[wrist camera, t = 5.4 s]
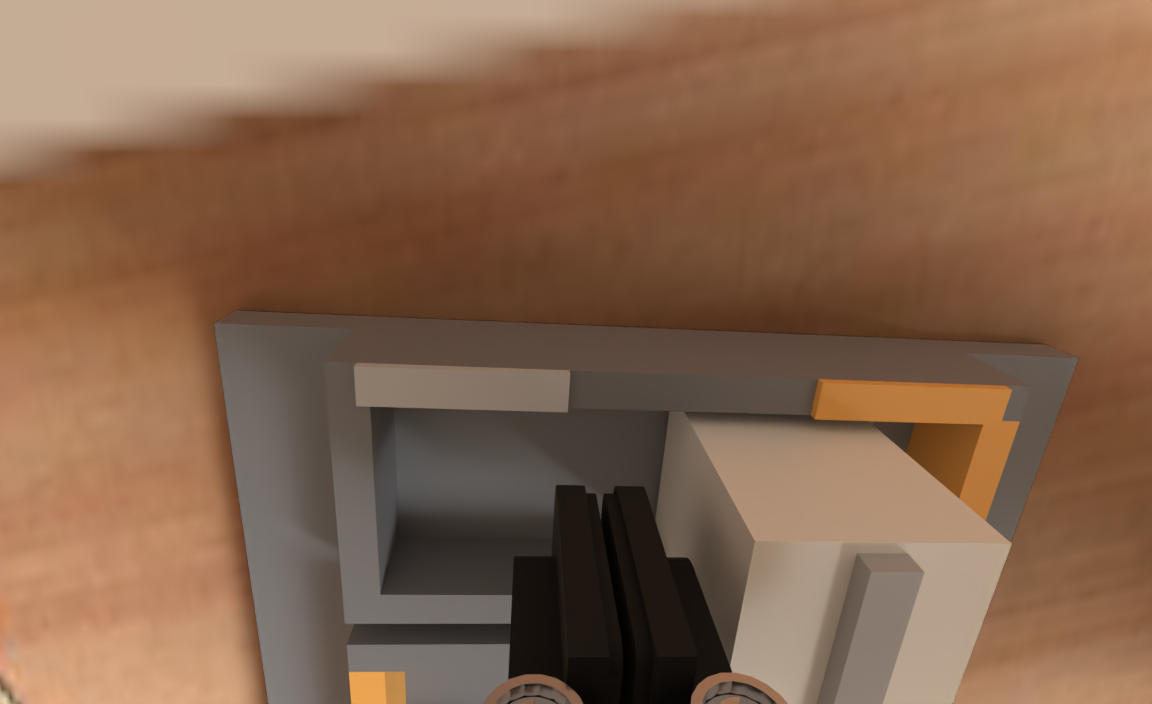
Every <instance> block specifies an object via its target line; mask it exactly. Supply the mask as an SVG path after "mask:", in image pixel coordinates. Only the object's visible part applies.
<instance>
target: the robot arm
mask: <svg viewBox="0 0 1152 704" xmlns="http://www.w3.org/2000/svg"><path fill="white" fill-rule="evenodd" d="M484 704H787V702H786V701H785V700H784V699H783V697H782V696H781V695H780V694H779V693H777V692H776V691H775V690H774V689H772V688H771V687H770V686H769V685H767V684H765V683H763V682H761V681H759V680H757V679H755V678H753V677H751V676H747V675H743V674H739V673H732V670H731V667H730V664H729V662H728V659H727V656H726V654H725V651H724V648H723V646H722V643H721V640H720V638H719V635H718V632H717V629H716V627H715V624H714V621H713V619H712V616H711V613H710V611H709V608H708V605H707V602H706V600H705V597H704V594H703V592H702V589H701V586H700V584H699V581H698V578H697V575H696V573H695V570H694V567H693V565H692V563H691V561H690V559H688V558H687V557H667V556H666V553H665V550H664V547H663V543H662V540H661V537H660V534H659V531H658V528H657V524H656V521H655V518H654V515H653V512H652V509H651V505H650V502H649V499H648V496H647V493H646V490H645V488H644V487H643V486H615V487H614V491H613V494H612V493H604V495H603V501H602V512H601V519H600V513H599V507H598V502H597V496H596V493H586V489H585V486H584V485H556V488H555V503H554V519H553V536H552V553H551V556H514V562H513V584H512V606H511V628H510V650H509V672H508V680H507V681H506V682H504V683H502V684H501V685H499V686H497V687H496V688H495V689H494V690H493V691H492V693H491V694H490V695H489V696H488V697H487V698H486V699H485V702H484Z"/></svg>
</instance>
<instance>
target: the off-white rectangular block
mask: <svg viewBox="0 0 1152 704" xmlns="http://www.w3.org/2000/svg"><path fill="white" fill-rule="evenodd" d="M655 521H656V524H657V528H658V531H659V534H660V537H661V540H662V543H663V547H664V550H665V553H666V556H667V557H687V558H688V559H690V561H691V563H692V565H693V567H694V570H695V573H696V575H697V578H698V581H699V584H700V586H701V589H702V592H703V594H704V597H705V600H706V602H707V605H708V608H709V611H710V613H711V616H712V619H713V621H714V624H715V627H716V629H717V632H718V635H719V638H720V640H721V643H722V646H723V648H724V651H725V654H726V656H727V659H728V662H729V664H730V667H731V670H732V673H739V674H743V675H747V676H751V677H753V678H755V679H757V680H759V681H761V682H763V683H765V684H767V685H769V686H770V687H771V688H772V689H774V690H775V691H776V692H777V693H779V694H780V695H781V696H782V697H783V699H784V700H785V701H786V702H787V704H953V702H954V699H955V696H956V694H957V691H958V688H959V685H960V683H961V680H962V677H963V675H964V672H965V669H966V667H967V664H968V661H969V658H970V656H971V653H972V650H973V648H974V645H975V642H976V640H977V637H978V634H979V631H980V629H981V626H982V623H983V621H984V618H985V615H986V613H987V610H988V607H989V604H990V602H991V599H992V596H993V594H994V591H995V588H996V586H997V583H998V580H999V578H1000V575H1001V572H1002V569H1003V567H1004V564H1005V561H1006V559H1007V556H1008V553H1009V551H1010V548H1011V545H1012V543H1011V542H1009V541H1008V540H1007V539H1006V538H1005V537H1003V536H1002V535H1001V534H1000V533H999V532H998V531H996V530H995V529H994V528H993V527H992V526H991V525H989V524H988V523H987V522H986V521H985V520H984V519H982V518H981V517H980V516H979V515H978V514H977V513H975V512H974V511H973V510H972V509H971V508H970V507H968V506H967V505H966V504H965V503H964V502H962V501H961V500H960V499H959V498H958V497H957V496H955V495H954V494H953V493H952V492H951V491H950V490H948V489H947V488H946V487H945V486H944V485H943V484H941V483H940V482H939V481H938V480H937V479H936V478H934V477H933V476H932V475H931V474H930V473H929V472H927V471H926V470H925V469H924V468H923V467H922V466H920V465H919V464H918V463H917V462H916V461H914V460H913V459H912V458H911V457H910V456H909V455H907V454H906V453H905V452H904V451H903V450H902V449H900V448H899V447H898V446H897V445H896V444H895V443H893V442H892V441H891V440H890V439H889V438H888V437H886V436H885V435H884V434H883V433H882V432H881V431H879V430H878V429H877V428H876V427H875V426H874V425H872V424H871V423H870V422H869V421H845V420H815V419H814V418H813V417H812V416H811V415H785V414H751V413H718V412H684V411H669V418H668V426H667V433H666V441H665V449H664V456H663V464H662V472H661V480H660V487H659V495H658V503H657V511H656V518H655Z"/></svg>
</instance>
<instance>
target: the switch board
mask: <svg viewBox="0 0 1152 704" xmlns="http://www.w3.org/2000/svg"><path fill="white" fill-rule="evenodd" d="M214 329H215V336H216V343H217V350H218V357H219V364H220V371H221V378H222V385H223V392H224V399H225V406H226V413H227V420H228V427H229V433H230V440H231V447H232V454H233V461H234V468H235V475H236V482H237V489H238V496H239V503H240V510H241V517H242V524H243V531H244V538H245V545H246V552H247V559H248V566H249V573H250V580H251V587H252V594H253V601H254V608H255V615H256V622H257V629H258V635H259V642H260V649H261V656H262V663H263V670H264V677H265V684H266V691H267V698H268V704H484V702H485V699H486V698H487V697H488V696H489V695H490V694H491V693H492V691H493V690H494V689H495V688H496V687H497V686H499V685H501V684H502V683H504V682H506V681H507V680H508V672H509V650H510V628H511V606H512V584H513V562H514V556H551V553H552V536H553V519H554V503H555V488H556V485H584V486H585V489H586V493H596V496H597V502H598V507H599V513H600V519H601V512H602V501H603V495H604V493H612V494H613V491H614V487H615V486H643V487H644V488H645V490H646V493H647V496H648V499H649V502H650V505H651V509H652V512H653V515H654V518H656V511H657V503H658V495H659V487H660V480H661V472H662V464H663V456H664V449H665V441H666V433H667V426H668V418H669V411H684V412H718V413H751V414H785V415H811V416H812V417H813V418H814V419H815V420H845V421H869V422H870V423H871V424H872V425H874V426H875V427H876V428H877V429H878V430H879V431H881V432H882V433H883V434H884V435H885V436H886V437H888V438H889V439H890V440H891V441H892V442H893V443H895V444H896V445H897V446H898V447H899V448H900V449H902V450H903V451H904V452H905V453H906V454H907V455H909V456H910V457H911V458H912V459H913V460H914V461H916V462H917V463H918V464H919V465H920V466H922V467H923V468H924V469H925V470H926V471H927V472H929V473H930V474H931V475H932V476H933V477H934V478H936V479H937V480H938V481H939V482H940V483H941V484H943V485H944V486H945V487H946V488H947V489H948V490H950V491H951V492H952V493H953V494H954V495H955V496H957V497H958V498H959V499H960V500H961V501H962V502H964V503H965V504H966V505H967V506H968V507H970V508H971V509H972V510H973V511H974V512H975V513H977V514H978V515H979V516H980V517H981V518H982V519H984V520H985V521H986V522H987V523H988V524H989V525H991V526H992V527H993V528H994V529H995V530H996V531H998V532H999V533H1000V534H1001V535H1002V536H1003V537H1005V538H1006V539H1007V540H1008V541H1009V542H1011V541H1012V538H1013V535H1014V533H1015V530H1016V527H1017V525H1018V522H1019V519H1020V516H1021V514H1022V511H1023V508H1024V506H1025V503H1026V500H1027V498H1028V495H1029V492H1030V489H1031V487H1032V484H1033V481H1034V479H1035V476H1036V473H1037V470H1038V468H1039V465H1040V462H1041V460H1042V457H1043V454H1044V452H1045V449H1046V446H1047V443H1048V441H1049V438H1050V435H1051V433H1052V430H1053V427H1054V424H1055V422H1056V419H1057V416H1058V414H1059V411H1060V408H1061V406H1062V403H1063V400H1064V397H1065V395H1066V392H1067V389H1068V387H1069V384H1070V381H1071V378H1072V376H1073V373H1074V370H1075V368H1076V365H1077V362H1078V360H1079V358H1078V357H1075V356H1073V355H1070V354H1068V353H1065V352H1063V351H1061V350H1058V349H1056V348H1053V347H1051V346H1048V345H1046V344H1022V343H999V342H975V341H951V340H927V339H903V338H879V337H856V336H832V335H808V334H784V333H760V332H737V331H713V330H689V329H665V328H641V327H617V326H594V325H570V324H546V323H522V322H498V321H475V320H451V319H427V318H403V317H379V316H355V315H332V314H308V313H284V312H260V311H236V310H235V311H234V312H232V313H230V314H229V315H227V316H225V317H224V318H222V319H220V320H219V321H217V322H215V323H214Z"/></svg>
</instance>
